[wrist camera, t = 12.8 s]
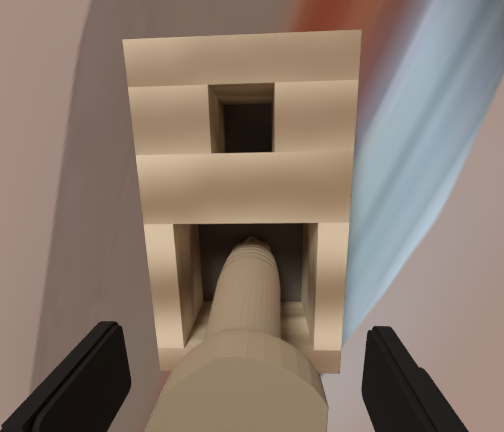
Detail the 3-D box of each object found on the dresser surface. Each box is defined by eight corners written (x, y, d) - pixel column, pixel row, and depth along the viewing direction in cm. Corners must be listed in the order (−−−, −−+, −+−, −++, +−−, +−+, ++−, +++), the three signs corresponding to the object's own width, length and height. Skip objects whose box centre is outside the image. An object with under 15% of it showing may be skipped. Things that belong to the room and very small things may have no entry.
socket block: (165, 74, 19) (122, 39, 14) (331, 68, 19) (361, 29, 13) (185, 317, 24) (160, 370, 18) (320, 318, 23) (339, 373, 18)
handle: (296, 232, 21) (365, 404, 7) (261, 296, 23) (256, 548, 8) (242, 206, 21) (194, 328, 7) (210, 273, 23) (113, 492, 8)
